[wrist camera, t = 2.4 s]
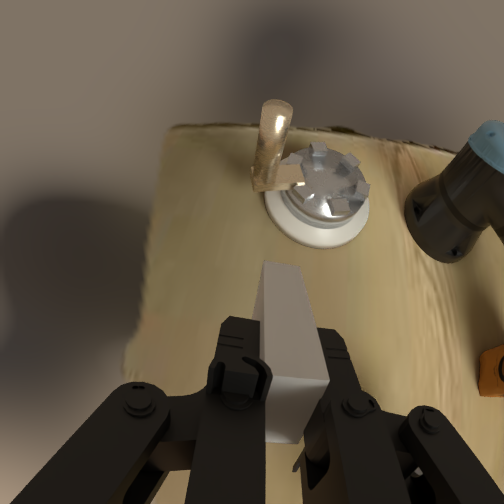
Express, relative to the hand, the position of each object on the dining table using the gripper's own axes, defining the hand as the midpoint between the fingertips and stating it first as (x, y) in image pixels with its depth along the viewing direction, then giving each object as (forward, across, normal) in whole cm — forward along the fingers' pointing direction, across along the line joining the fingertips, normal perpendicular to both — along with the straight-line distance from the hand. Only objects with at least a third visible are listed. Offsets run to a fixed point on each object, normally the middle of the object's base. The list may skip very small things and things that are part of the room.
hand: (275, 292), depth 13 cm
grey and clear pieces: (+32, +6, 0) cm, 32 cm away
